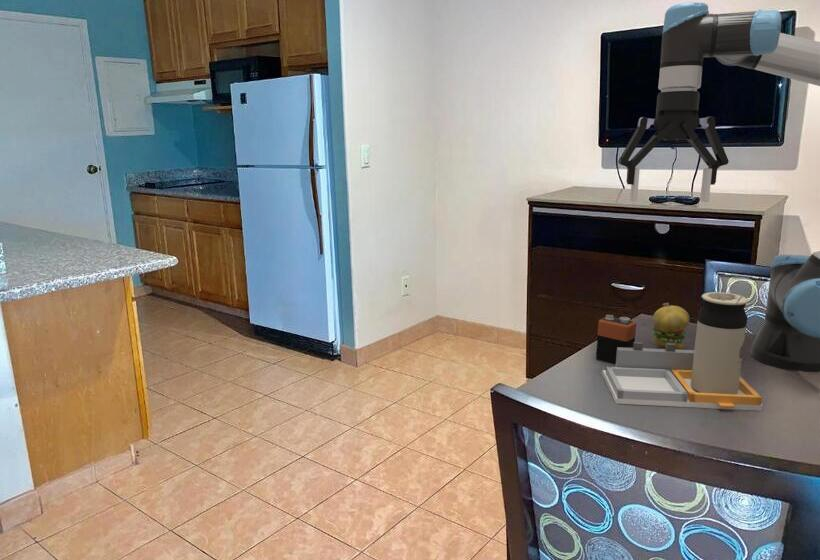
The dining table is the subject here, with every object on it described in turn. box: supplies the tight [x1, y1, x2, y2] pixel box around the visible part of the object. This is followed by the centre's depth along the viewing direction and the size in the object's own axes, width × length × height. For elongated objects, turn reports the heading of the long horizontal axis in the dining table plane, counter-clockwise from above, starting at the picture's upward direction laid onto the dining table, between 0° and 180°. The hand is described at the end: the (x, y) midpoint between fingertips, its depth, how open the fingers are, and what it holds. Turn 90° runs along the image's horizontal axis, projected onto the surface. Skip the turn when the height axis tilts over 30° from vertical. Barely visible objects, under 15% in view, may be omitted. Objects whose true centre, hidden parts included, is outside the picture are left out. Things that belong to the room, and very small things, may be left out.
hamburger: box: [652, 302, 690, 350], centre depth 134 cm, size 8×7×12 cm
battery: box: [595, 314, 637, 365], centre depth 130 cm, size 4×7×10 cm, turn 46°
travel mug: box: [691, 291, 749, 394], centre depth 111 cm, size 8×8×18 cm
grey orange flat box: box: [601, 341, 764, 412], centre depth 113 cm, size 25×15×7 cm, turn 82°
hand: (668, 201), depth 121 cm, fingers open, 13 cm apart
